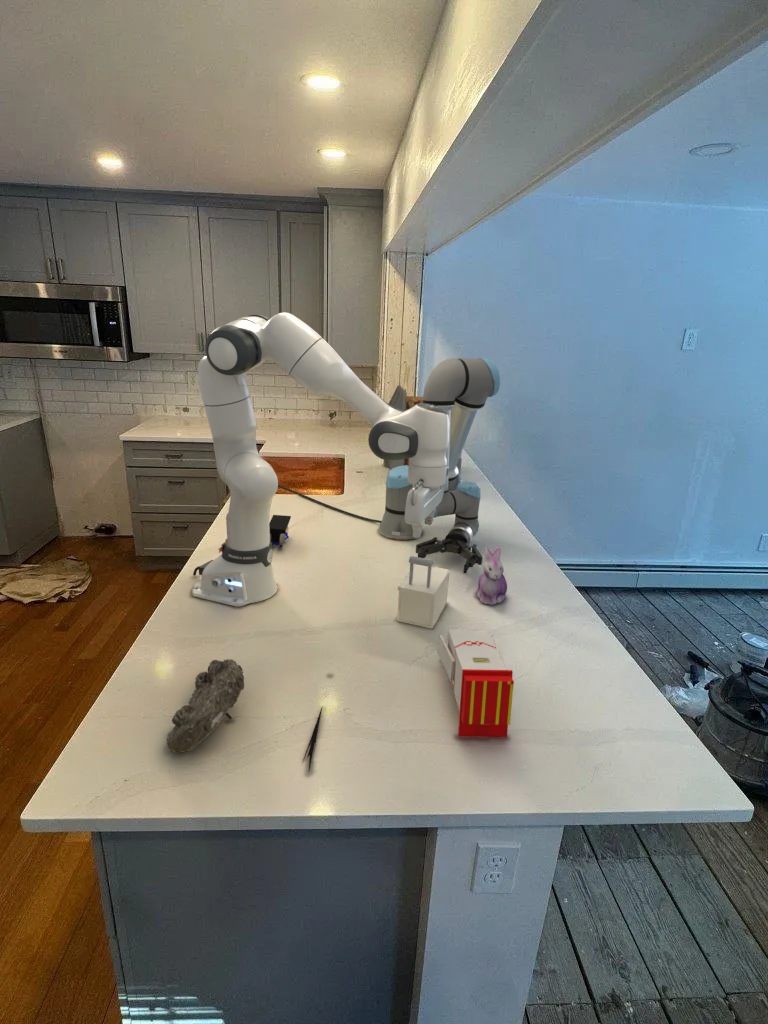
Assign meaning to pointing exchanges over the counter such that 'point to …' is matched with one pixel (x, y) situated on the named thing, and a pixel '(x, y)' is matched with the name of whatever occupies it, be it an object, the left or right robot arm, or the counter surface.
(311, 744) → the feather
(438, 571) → the lid
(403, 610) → the chest
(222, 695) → the fossil
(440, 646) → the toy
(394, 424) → the left robot arm
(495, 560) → the figurine
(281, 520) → the figurine character
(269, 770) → the counter surface
